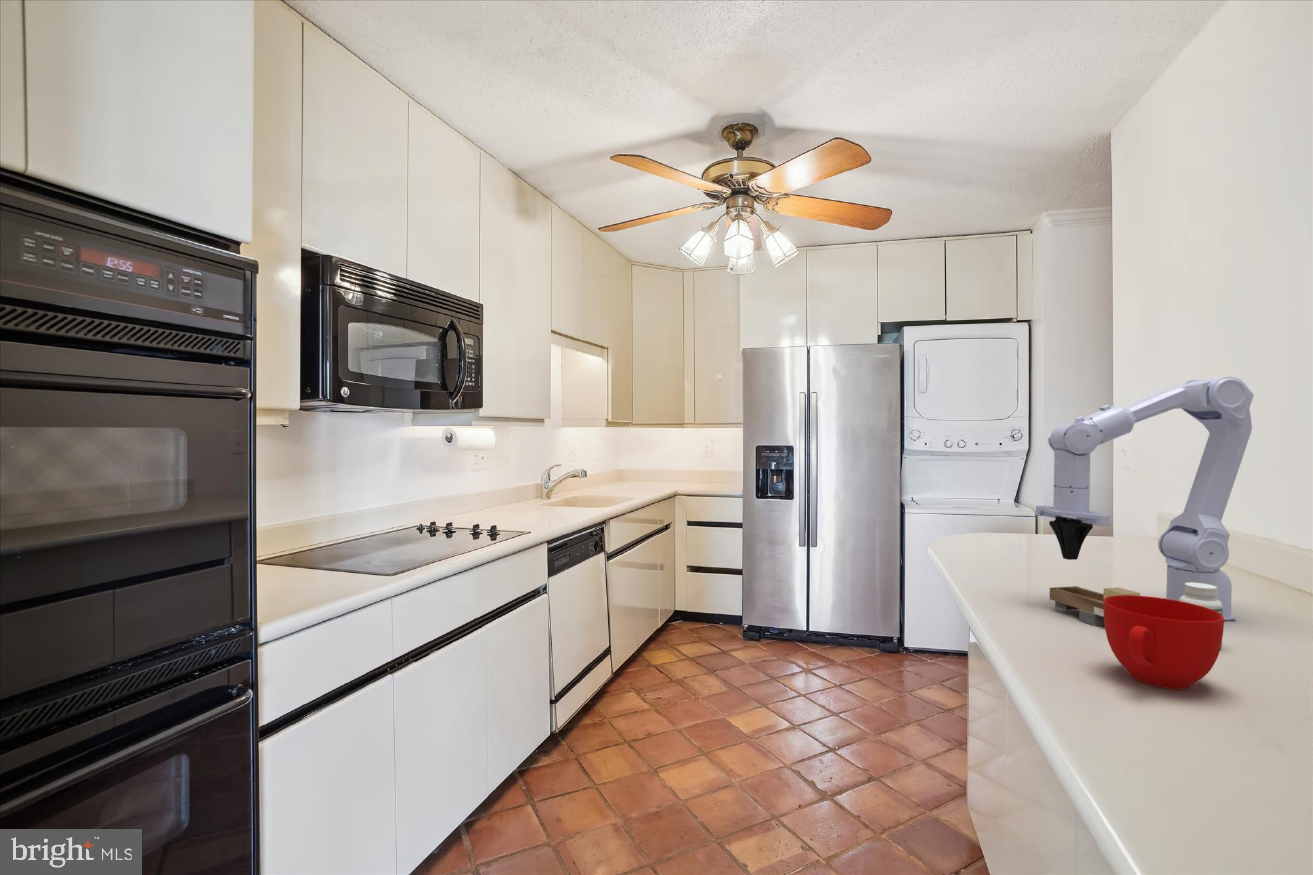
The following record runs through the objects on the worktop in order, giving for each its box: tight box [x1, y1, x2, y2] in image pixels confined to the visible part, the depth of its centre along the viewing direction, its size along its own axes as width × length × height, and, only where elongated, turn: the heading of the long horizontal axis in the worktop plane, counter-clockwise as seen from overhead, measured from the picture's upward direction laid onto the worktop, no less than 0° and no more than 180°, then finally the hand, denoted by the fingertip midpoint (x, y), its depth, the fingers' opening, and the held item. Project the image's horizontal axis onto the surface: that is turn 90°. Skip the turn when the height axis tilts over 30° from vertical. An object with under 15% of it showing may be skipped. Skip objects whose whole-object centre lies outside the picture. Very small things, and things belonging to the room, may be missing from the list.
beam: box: [1049, 586, 1105, 626], centre depth 113 cm, size 7×17×4 cm, turn 13°
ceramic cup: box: [1103, 595, 1225, 690], centre depth 86 cm, size 13×17×10 cm
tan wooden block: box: [1103, 587, 1141, 601], centre depth 110 cm, size 3×4×3 cm
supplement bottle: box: [1179, 582, 1223, 647], centre depth 102 cm, size 5×5×10 cm
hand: (1070, 558), depth 120 cm, fingers closed
